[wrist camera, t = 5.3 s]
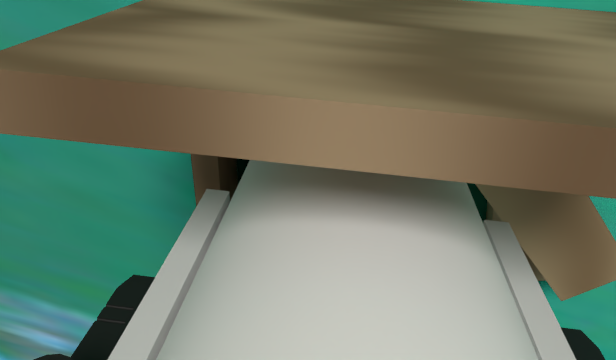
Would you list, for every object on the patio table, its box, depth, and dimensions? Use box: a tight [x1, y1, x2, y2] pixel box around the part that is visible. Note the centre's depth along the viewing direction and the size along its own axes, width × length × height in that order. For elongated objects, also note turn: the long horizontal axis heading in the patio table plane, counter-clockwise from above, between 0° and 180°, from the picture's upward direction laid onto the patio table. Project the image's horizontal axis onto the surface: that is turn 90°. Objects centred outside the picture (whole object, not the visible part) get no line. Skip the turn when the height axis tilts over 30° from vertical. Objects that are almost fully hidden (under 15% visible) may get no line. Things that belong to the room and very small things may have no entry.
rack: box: [0, 0, 616, 206], centre depth 13 cm, size 14×14×10 cm
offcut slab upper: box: [476, 184, 616, 301], centre depth 15 cm, size 3×9×2 cm, turn 40°
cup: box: [156, 160, 538, 360], centre depth 11 cm, size 8×8×16 cm
